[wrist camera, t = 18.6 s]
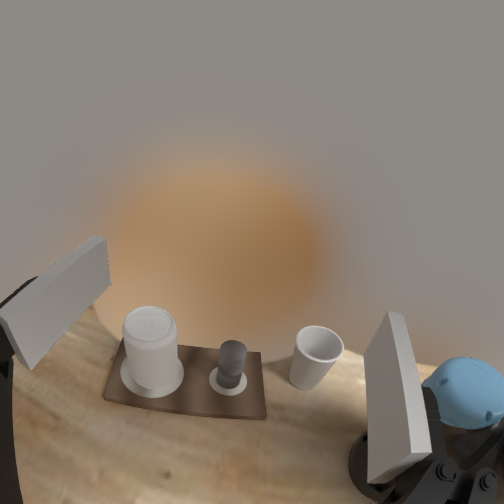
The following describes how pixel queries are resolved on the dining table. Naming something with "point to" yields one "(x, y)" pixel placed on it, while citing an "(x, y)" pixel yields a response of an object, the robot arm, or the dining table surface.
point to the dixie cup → (314, 356)
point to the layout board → (198, 384)
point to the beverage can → (151, 346)
